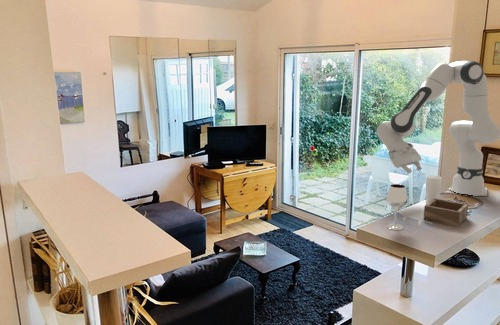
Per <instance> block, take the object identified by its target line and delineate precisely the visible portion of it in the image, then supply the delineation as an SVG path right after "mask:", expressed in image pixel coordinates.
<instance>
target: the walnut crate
mask: <svg viewBox="0 0 500 325" xmlns="http://www.w3.org/2000/svg"><path fill="white" fill-rule="evenodd" d="M468 208H469V204H468V203H461V202H456V201H452V200H451V201H450V200H445V199H441V198H439V199H433V200H432V201H431V202H429V203H428V204H426V203H425V205H424V207H423V210H424V211H423V219H422V220H423V221H427V222H431V223H432V222H433V223H437V224H441V225H447V226H450V227H455V228H459V227H460V226H461V225H462V224H463V223H465V220H467V217H468Z"/></svg>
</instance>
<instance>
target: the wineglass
mask: <svg viewBox="0 0 500 325" xmlns="http://www.w3.org/2000/svg"><path fill="white" fill-rule="evenodd" d="M385 199H386V202H387V204H388V205H389V206H390V207H391V208H392V209H393V210H394V222H393V223H392V224H391V223H390V224H388V225H386V228H388V229H389V230H391V231H392V230H393V231H401V230H403V229H404V227H403V225H400V224H397V220H398V219H397V217H398V216H397V215H398V211H399V210H400V209H402V208H404V206H406V205H407V203H408V199H409V198H408V193H407V188H406V185H404V184H398V183H397V184H396V183H392V184H390V186H389V188H388V192H387V194H386V198H385Z"/></svg>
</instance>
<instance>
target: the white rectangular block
mask: <svg viewBox="0 0 500 325" xmlns="http://www.w3.org/2000/svg"><path fill="white" fill-rule="evenodd" d="M425 178H426V179H425V205H426V204H428V203H429V202H431V201H432V200H433V199H440V195H441V190H442V183H443V181H442V180H443V179H442V178H443V177H441V176H439V175H426V177H425Z"/></svg>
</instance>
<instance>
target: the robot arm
mask: <svg viewBox="0 0 500 325" xmlns="http://www.w3.org/2000/svg"><path fill="white" fill-rule="evenodd" d="M450 83H455V84H462V86H463V95H462V109H463V112H464V113H465V114H467V115H468V116H469V117H470V120H466V119H465V120H456V121H453V122H452V123H451V124H450V126H449V128H448V133H449V136H450V137H451V138H452V140H454V142H455V143H456V146H457V149H458V154H459V156H458V159H459V160H458V165H457V169H456V172H457V173H456V174H454V175H453V177H452V184H451V187H448V190H449V191H451V192H453V191H454V192H456V193H455V194H457V193H461V194H468V195H473V196H472V197H486V196H488V187H486V186H485V183H484V182H485V179H484V177H483V174H484V173H483V172H484V169H483V160H484V153H483V152H482V151H481V150H480V149H479V148H478V147H477V146H476V143H479V144H495V143H496V142H497V141H498V140H499V139H500V126H499V125H498V124H496V122H495V121H494V120H493V118H492V117H491V115H490V112H489V106H488V105H489V104H488V101H489V100H488V99H489V98H488V97H489V86H488V85H489V83H488V79H487V76H486V75H485V74H484V69H483V66H482V64H481V63H480V62H478V61H474V60H460V61H452V62H448V63H445V62H440V63H438V64H436V66H434V67H433V69H431V71H429V72H428V73H427V75H426V77H425V79H424V80H423V81H422V83H421V84H420V86H419V87H418V89H417V90H416V92H415V93H414V94H413V96H412V97H411V99H410V100H409V101H408V102H407V103H406V105H405V106H404V107H403V108H402V109H401V110H399V111H398V112H396V113H395V114H393V116H392V117H391V120H390V121H388V120H385V121H382V122H381V123H380V124H379V125H378V126H377V128H376V129H375V130H376V135H377V137H378V139H379V140H380V141H381V143H382V144H383V145H384V146H385V147H386V149H387V151H388V157H389V160H390V161H391V163H392V165H393V166H394V167H395V169H396V168H397V169H398V168H399V169H403V171H405V172H406V173H407V174H411V173H412V172H413V170H412V169H411V168H410V167H408V166H411V165H414V166H415V168H416V170H417V171H421V170H423V167H422V166H421V164H420V162H421V161H422V157H421V155H420V154H419V152H418V151H417V150H416V149H415V148H414V145H413V143H410V142H407V141H405V140H404V139H405V138H408V137H410V136H411V135H413V134H414V132H415V129H416V127H415V123H414V118H415V116H416V115H417V113H418V112H419V111H420V110H421V109H422V107H423V106H424V105H425V104H426V103H427V102H433V101H436V100H437V99H438V98H440V96H441V95H443V94H444V91H445V90H446V89H447V87H448V86H449V85H450ZM454 192H453V193H454ZM461 194H460V195H461Z"/></svg>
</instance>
